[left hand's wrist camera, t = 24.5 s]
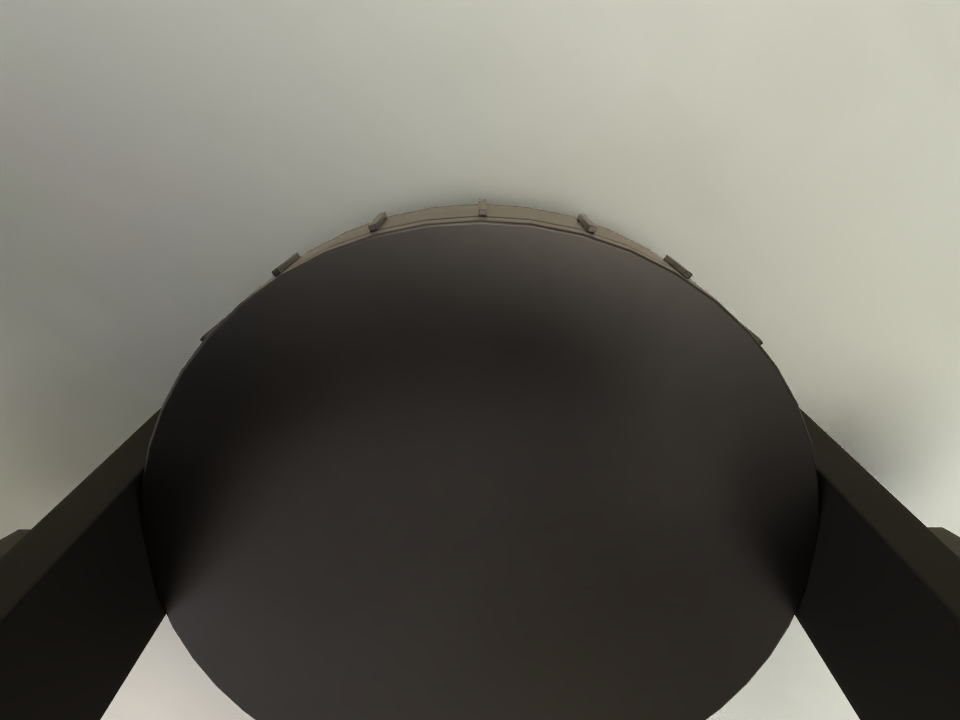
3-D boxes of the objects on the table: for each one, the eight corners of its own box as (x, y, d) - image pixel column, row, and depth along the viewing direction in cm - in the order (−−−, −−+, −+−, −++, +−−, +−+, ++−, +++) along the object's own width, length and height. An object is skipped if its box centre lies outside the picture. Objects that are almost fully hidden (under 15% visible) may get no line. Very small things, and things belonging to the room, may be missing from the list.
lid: (774, 691, 14) (811, 764, 12) (265, 742, 14) (239, 819, 13) (789, 154, 10) (847, 162, 8) (93, 252, 10) (27, 277, 9)
